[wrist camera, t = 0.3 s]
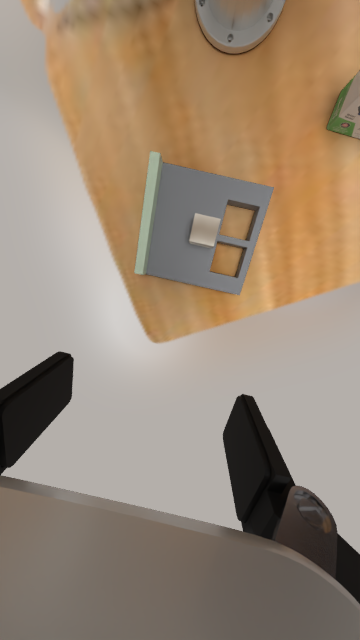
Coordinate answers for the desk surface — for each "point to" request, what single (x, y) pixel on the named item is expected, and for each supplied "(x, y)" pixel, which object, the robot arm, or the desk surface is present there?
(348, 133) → the ink box
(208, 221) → the cream block
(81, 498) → the robot arm
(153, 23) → the desk surface
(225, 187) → the trap deck
